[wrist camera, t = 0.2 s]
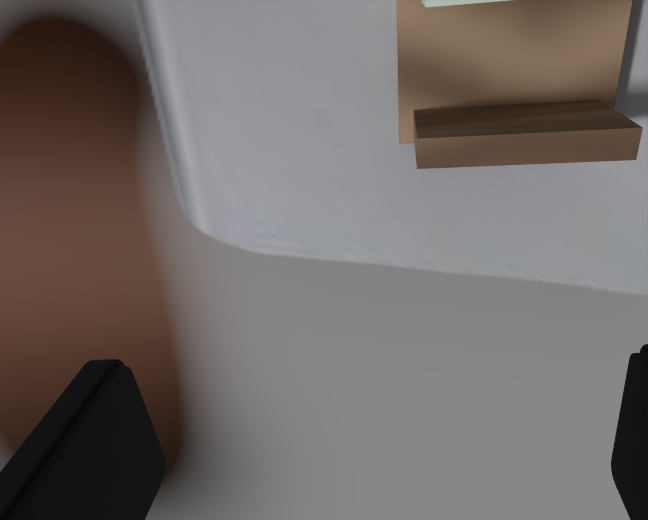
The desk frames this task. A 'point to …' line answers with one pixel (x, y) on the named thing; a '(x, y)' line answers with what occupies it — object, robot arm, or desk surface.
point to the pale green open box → (453, 2)
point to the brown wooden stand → (513, 82)
